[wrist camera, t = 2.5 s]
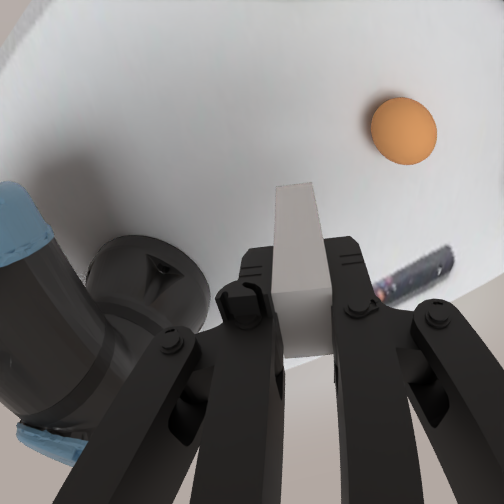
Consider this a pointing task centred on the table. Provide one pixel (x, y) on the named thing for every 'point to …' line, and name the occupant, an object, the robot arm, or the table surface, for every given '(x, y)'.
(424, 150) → the ball
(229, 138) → the table surface
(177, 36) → the table surface
